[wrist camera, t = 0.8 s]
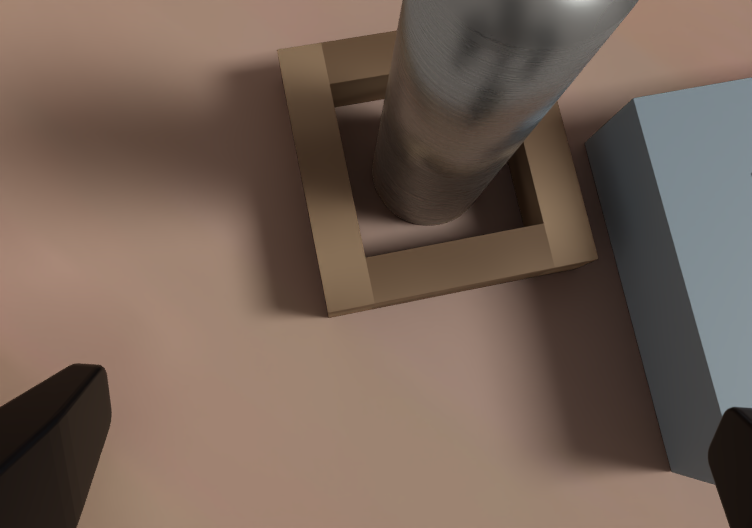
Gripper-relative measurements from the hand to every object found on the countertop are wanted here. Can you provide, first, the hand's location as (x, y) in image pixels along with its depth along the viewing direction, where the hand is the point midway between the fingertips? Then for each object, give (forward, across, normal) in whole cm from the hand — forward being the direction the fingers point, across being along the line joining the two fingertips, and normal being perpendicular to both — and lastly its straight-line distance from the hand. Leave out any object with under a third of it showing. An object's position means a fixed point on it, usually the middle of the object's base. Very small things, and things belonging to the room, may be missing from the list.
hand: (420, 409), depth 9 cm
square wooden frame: (+15, -2, +2) cm, 15 cm away
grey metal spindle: (+15, -2, +2) cm, 15 cm away
